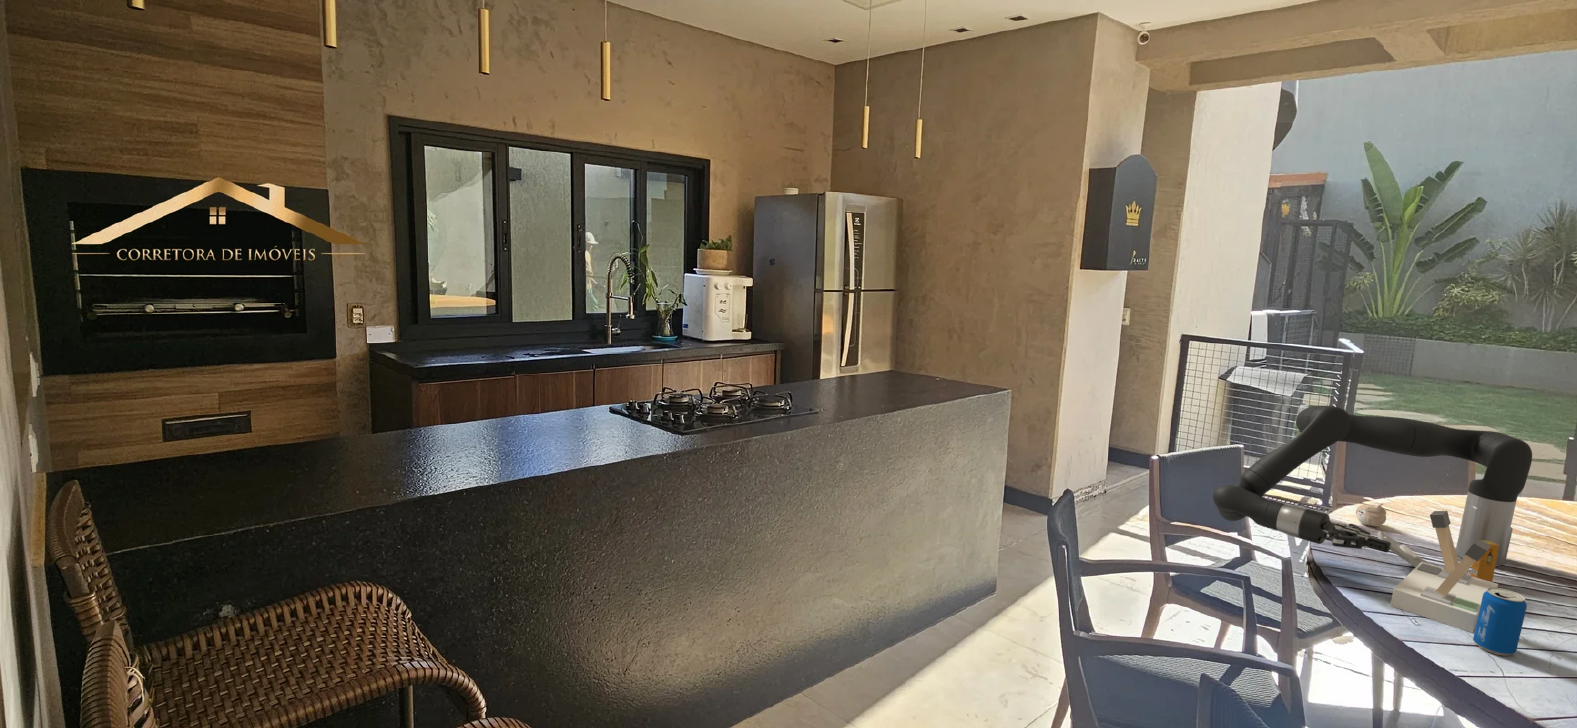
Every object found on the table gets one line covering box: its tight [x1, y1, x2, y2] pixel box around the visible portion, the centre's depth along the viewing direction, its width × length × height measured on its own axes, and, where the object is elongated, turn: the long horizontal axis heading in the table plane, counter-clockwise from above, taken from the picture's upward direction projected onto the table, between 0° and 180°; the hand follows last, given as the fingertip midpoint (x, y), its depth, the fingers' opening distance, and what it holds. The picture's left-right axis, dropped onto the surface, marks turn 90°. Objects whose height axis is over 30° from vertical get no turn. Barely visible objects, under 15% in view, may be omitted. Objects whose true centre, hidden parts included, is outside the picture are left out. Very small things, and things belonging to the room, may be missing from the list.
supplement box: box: [1469, 540, 1499, 582], centre depth 185 cm, size 3×3×10 cm
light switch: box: [1377, 530, 1430, 568], centre depth 192 cm, size 8×5×13 cm
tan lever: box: [1436, 539, 1491, 596], centre depth 164 cm, size 2×4×14 cm, turn 130°
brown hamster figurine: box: [1355, 502, 1387, 528], centre depth 219 cm, size 7×6×8 cm
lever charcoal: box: [1429, 510, 1460, 573], centre depth 178 cm, size 2×4×14 cm, turn 128°
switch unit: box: [1390, 562, 1499, 633], centre depth 173 cm, size 14×24×4 cm, turn 129°
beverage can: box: [1472, 587, 1528, 657], centre depth 154 cm, size 6×6×12 cm
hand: (1389, 547), depth 174 cm, fingers closed
